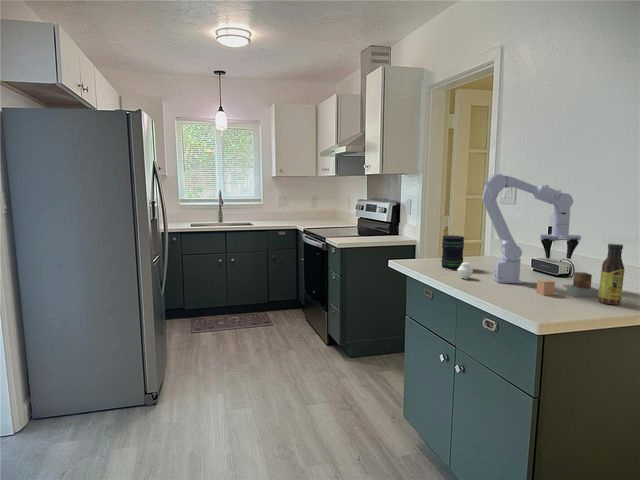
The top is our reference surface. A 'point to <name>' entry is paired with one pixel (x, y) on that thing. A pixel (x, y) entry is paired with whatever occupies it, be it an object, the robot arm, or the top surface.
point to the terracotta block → (545, 287)
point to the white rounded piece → (465, 270)
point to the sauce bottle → (612, 276)
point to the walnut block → (582, 280)
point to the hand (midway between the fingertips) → (558, 258)
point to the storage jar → (452, 251)
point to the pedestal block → (582, 291)
